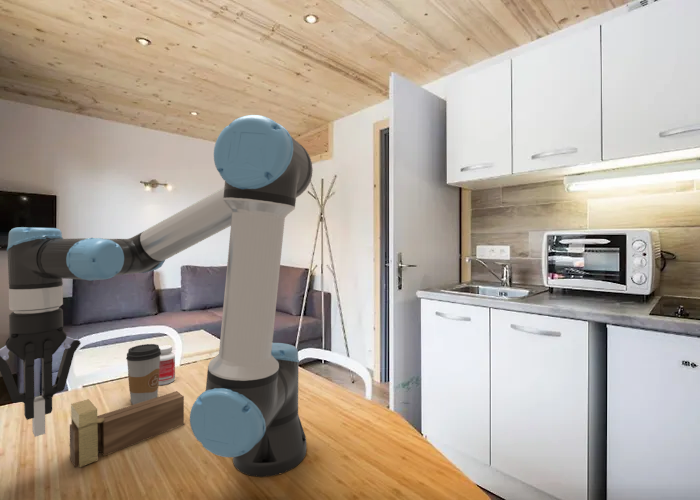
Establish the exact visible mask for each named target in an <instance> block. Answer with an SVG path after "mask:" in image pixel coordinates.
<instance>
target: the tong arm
mask: <svg viewBox="0 0 700 500" xmlns="http://www.w3.org/2000/svg"><path fill="white" fill-rule="evenodd" d="M184 397H185V396H184V394H182V393H180V394H178V395H175V396H172V397H169V398H166V399H162V400H159V401H156V402H153V403H150V404H147V405H144V406H141V407H138V408H135V409H132V410H129V411H125V412H122V413H119V414H116V415H113V416H110V417H107V418H104V419H105V421H104V422H102V423H101V452H100V453H101V454H102V455H103V457H104V456H107V455H110V454H112V453H115V452H118V451H121V450H123V449H125V448H128V447H130V446H133V445H136V444H137V443H138V444H139V443H140V442H143V441H146V440H148V439H150V438H153V437H156V436H158V435H161V434H163V433H166V432H168V431H171V430H173V429H176V428H178V427H182V426H184V425H185V413H184V412H185V405H184V404H185V403H184V402H185V398H184Z"/></svg>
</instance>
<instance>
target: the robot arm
mask: <svg viewBox="0 0 700 500" xmlns="http://www.w3.org/2000/svg"><path fill="white" fill-rule="evenodd" d="M213 161H214V166H215V168H216V170H217V172H218V173H219V175H220V177H221V178H222V180H223V181H224V187H222V188H220V189H219V190H217V191H215V192H212V193H211V194H209V195H208V196H206V197H204V198H202V199H200V200H199V201H197V202H195V203H193V204H191V205H189V206H187V207H186V208H183V209H182V210H180V211H178V212H176V213H174V214H173V215H171V216H169V217H167V218H164V219H163V220H161V221H160V222H158V223H156V224H155V225H152V226H151V227H148V228H146V229H144V230H143V231H141V232H140V233H137V234H136V235H134V236H132V237H130V238H101V237H95V238H94V237H88V238H85V237H84V238H78V237H77V238H63V234H62V231H61V229H59V228H56V227H26V226H25V227H24V226H21V227H13V228H11V230H9V232H8V241H7V248H6V252H7V272H8V309H9V310H10V311H12V312H11V313H10V314H9V315H8V318H9V319H8V320H9V321H8V322H9V323H8V324H9V325H8V326H9V327H8V330H9V331H8V332H9V335H8V339H6V341H5V345H4V346H3V347H1V348H0V374H1V377H2V379H3V382H4V384H5V387H6V390H7V392H8V395H9V397H10V400H11V402H12V403H14V404H17V403H23V404H24V405H23V406H24V409H23V410H24V417H25V419H26V420H27V421H28V420H31V419H32V421H31V422H32V434H33V436H34V438H36V437H38V436H39V437H40V436H41V435H46V415H49V414H52V412H53V397H54V395H55V394H57V393H59V392H60V393H61V392H63V391H64V390H65V388H66V384H67V380H68V378H69V374H70V370H71V366H72V363H73V359H74V355H75V352H76V351H77V350H78V348H79V347H80V345H81V343H82V342H81V341H80V340H79V339H78V338H76V337H75V338H72V337H69V336H68V334H67V333H66V332H65V330H64V309H62V307H61V306H62V305H64V299H63V298H64V297H63V296H64V295H63V293H64V292H63V283H64V281H63V279H68V280H69V279H70V280H86V281H89V282H90V281H91V282H93V281H97V280H98V281H100V280H108V279H112V278H113V277H115V276H120V275H122V276H123V275H130V274H132V275H133V274H145V273H146V274H147V273H150V272H152V271H156V270H158V269H159V268H161V267H162V266H163V265H164V263H165V262H166V261H167V260H168V259H169V258H171V257H173V256H175V255H178V254H179V253H181V252H183V251H185V250H187V249H189V248H190V247H193V246H195V245H196V244H198V243H199V244H200V242H203V241H204V240H206V239H208V238H210V237H212V236H214V235H216V234H218V233H220V232H222V231H223V230H225V229H227V228H229V227H230V233H229V240H228V241H229V243H228V244H229V245H228V252H227V253H228V254H227V266H226V274H225V275H226V276H225V285H224V295H223V296H224V298H223V305H222V307H223V308H222V316H221V317H222V318H221V329H220V338H219V349H218V354H216V356H215V357H213V358H212V359H211V360H210V361H209V362H208V365H207V373H206V374H207V375H206V383H205V384H206V385H205V390H204V391H203V392H201V394H200V395H199V396H197V398H196V399H195V401H194V403H193V404H192V406H191V408H190V412H189V413H190V414H189V421H190V422H189V424H190V429H191V431H192V434H193V436H194V437H195V439H196V441H198V442H199V443H200V444H201V445H202V447H203V448H204V449H205V450H207V451H208V452H210V453H211V454H213V455H215V456H218V457H223V458H232V462H233V465H234V467H235V468H236V469H237V470H238V471H239V472H241V473H243V474H244V475H246V476H247V475H248V476H252V477H257V478H258V477H259V478H260V477H262V478H264V477H272V476H273V477H274V476H277V475H281V474H284V473H287V472H288V471H291V470H293V469H294V468H296V467H297V466H298V465H299V464H300V463H301V462H302V461H303V460H304V458H305V457H306V455H307V436H306V433H305V430H304V428H303V424H302V421H301V419H300V415H299V363H300V359H299V351H298V348H297V347H296V346H294V345H292V344H290V343H289V344H288V343H282V342H273V341H274V332H275V329H274V328H275V320H276V311H277V310H276V309H277V301H278V291H279V290H278V289H279V281H280V269H281V259H282V249H283V242H284V241H283V238H284V229H285V220H286V217H287V216H288V215H289V214H291V213H292V212H293V211H294V210H295V209H296V203H297V202H296V201H297V198H298V197H300V196H301V195H302V194H303V193H304V192H305V191H306V190H307V189H308V187H309V185H310V183H311V181H312V177H313V171H314V170H313V162H312V158H311V156H310V154H309V153H308V151H307V150H306V148H305V147H304V146H303V145H302V144H301V143H300V142H298V141H297V140H296V139H295V138H294V137H293V136H292V135H291V134H290V133H289V131H288V130H287V128H285V127H284V126H283V125H282V124H280V123H278V122H276V121H275V120H273V119H272V118H269V117H268V116H264V115H261V114H249V115H244V116H240V117H237V118H236V119H234V120H232V122H231V123H229V125H227V126H225V127H223V129H222V130H221V131H220V133H219V135H218V136H217V139H216V141H215V144H214V148H213ZM62 345H63V348H64V351H63V353H62V356H61V359H60V364H59V368H58V370H57V375H56V378H55V381H54V384H53V355H54V354H55V353H56V352H57V351H58V350H59V348H60V347H61V346H62ZM9 352H11V353H12V354H14V355H15V356H16V357H17V358H18V359H20V360H21V361H22V363H23V367H22V368H23V392H19V390H18V389H19V388H18V387H17V384H16V382H15V379H14V376H13V374H12V371H11V367H10V366H9V363H8V360H9V358H10V356H9ZM38 359H40V361H41V393H42V395H38V396H35V360H38Z"/></svg>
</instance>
